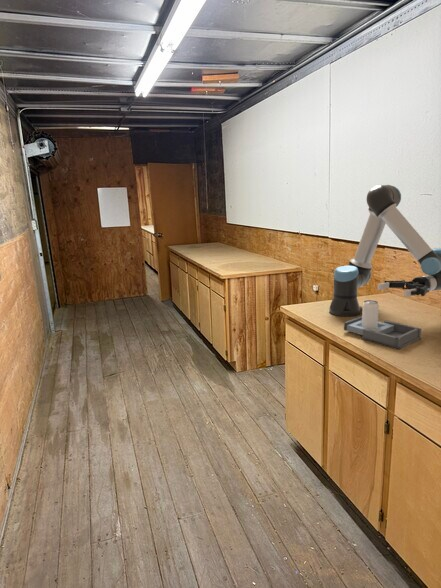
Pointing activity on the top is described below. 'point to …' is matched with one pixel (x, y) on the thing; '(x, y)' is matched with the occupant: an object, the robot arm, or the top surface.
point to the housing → (394, 336)
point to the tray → (356, 327)
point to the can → (370, 314)
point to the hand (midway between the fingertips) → (391, 290)
